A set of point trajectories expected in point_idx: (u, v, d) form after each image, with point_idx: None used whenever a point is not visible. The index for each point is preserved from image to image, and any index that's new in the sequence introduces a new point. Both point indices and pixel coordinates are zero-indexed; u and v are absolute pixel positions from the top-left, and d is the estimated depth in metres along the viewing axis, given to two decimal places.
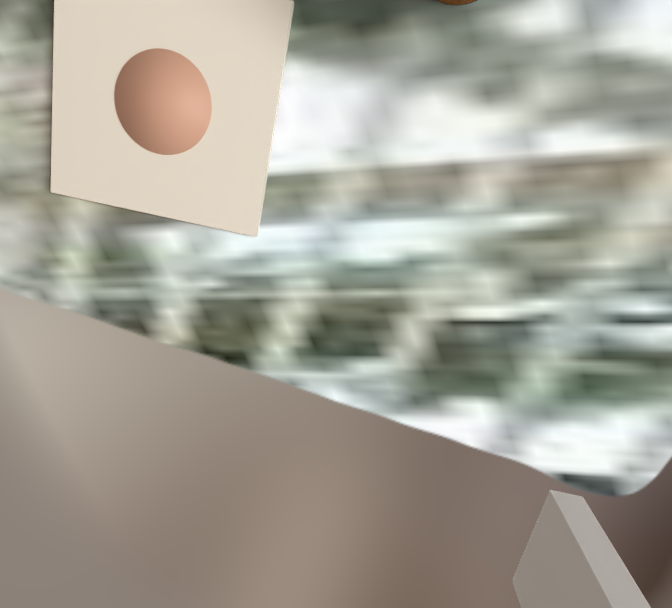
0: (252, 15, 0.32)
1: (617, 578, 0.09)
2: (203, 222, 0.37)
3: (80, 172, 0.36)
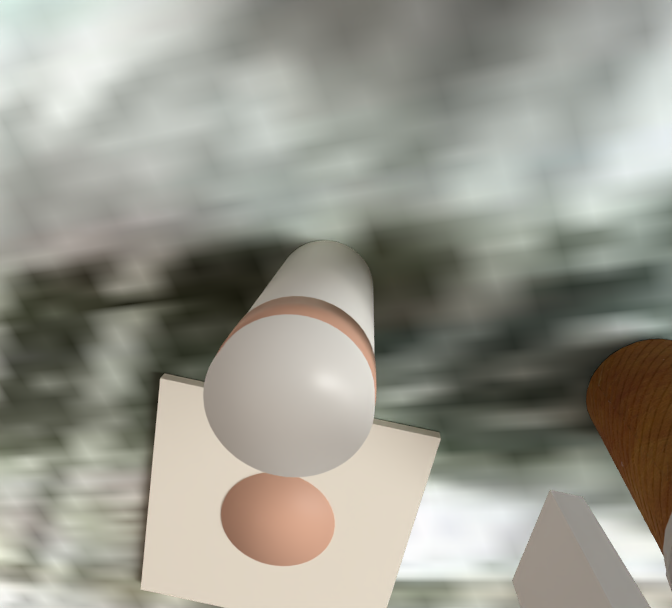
0: (390, 449, 0.27)
1: (617, 578, 0.09)
2: None
3: (176, 574, 0.32)
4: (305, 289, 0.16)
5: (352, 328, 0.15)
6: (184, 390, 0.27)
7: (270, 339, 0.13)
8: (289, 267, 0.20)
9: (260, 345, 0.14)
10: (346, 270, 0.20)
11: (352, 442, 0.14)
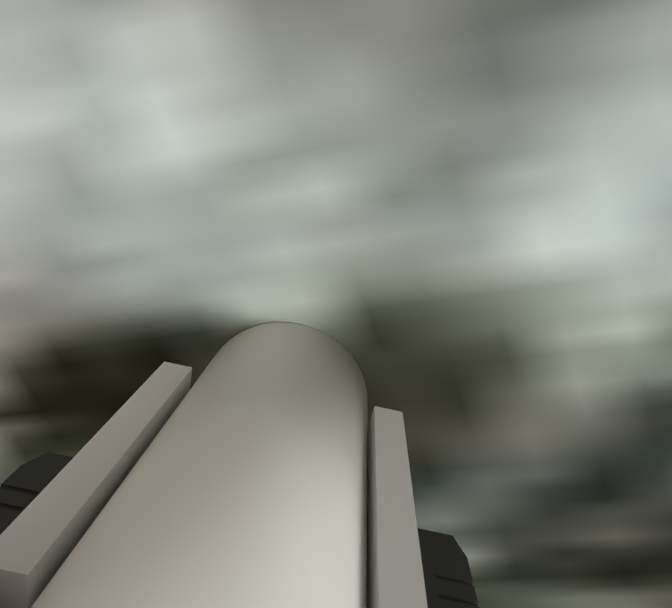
0: None
1: (394, 462, 0.11)
2: None
3: None
4: (170, 575, 0.06)
5: None
6: None
7: None
8: (189, 415, 0.10)
9: None
10: (310, 420, 0.10)
11: None
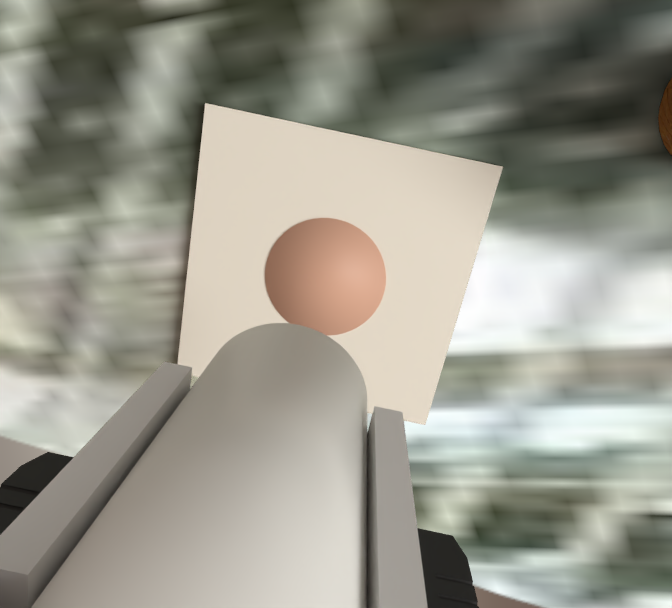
0: (448, 182, 0.26)
1: (394, 461, 0.11)
2: None
3: (215, 352, 0.30)
4: (168, 578, 0.06)
5: None
6: (230, 117, 0.26)
7: None
8: (188, 417, 0.10)
9: None
10: (309, 421, 0.10)
11: None
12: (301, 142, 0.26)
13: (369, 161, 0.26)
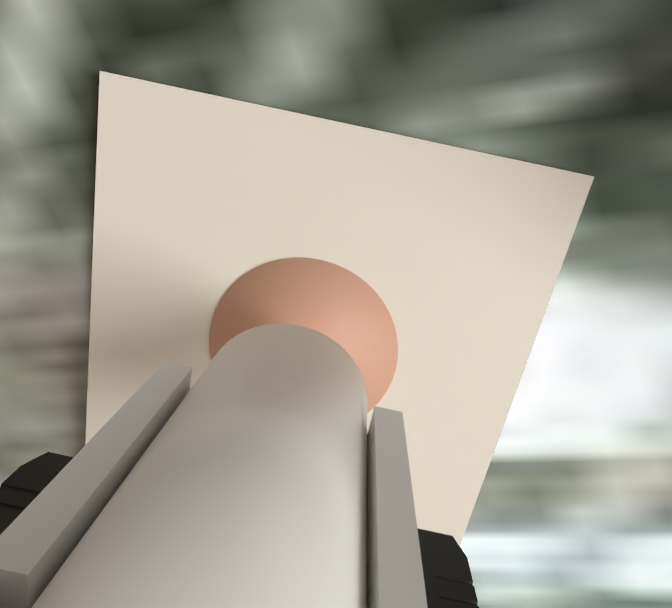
0: (502, 202, 0.16)
1: (394, 461, 0.11)
2: None
3: None
4: (168, 579, 0.06)
5: None
6: (142, 95, 0.15)
7: None
8: (188, 417, 0.10)
9: None
10: (309, 422, 0.10)
11: None
12: (260, 136, 0.16)
13: (372, 168, 0.16)
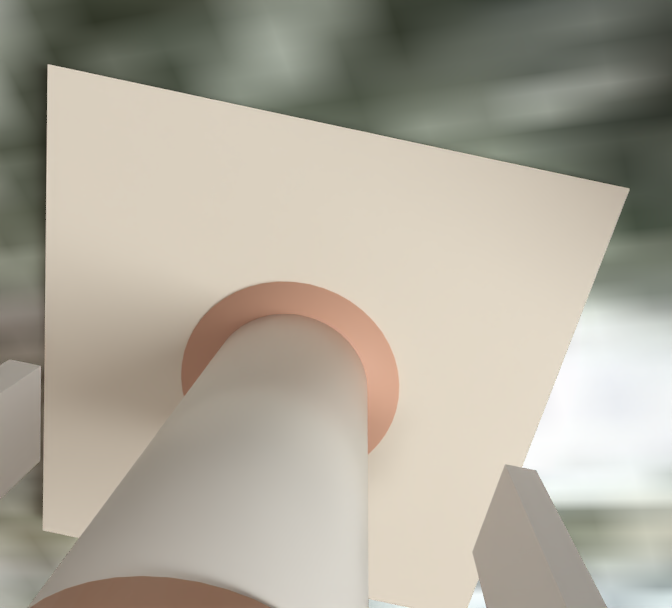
0: (521, 218, 0.13)
1: (558, 541, 0.09)
2: None
3: (104, 501, 0.17)
4: (193, 523, 0.06)
5: None
6: (98, 92, 0.13)
7: None
8: (201, 395, 0.10)
9: None
10: (314, 399, 0.10)
11: None
12: (237, 141, 0.13)
13: (368, 178, 0.13)
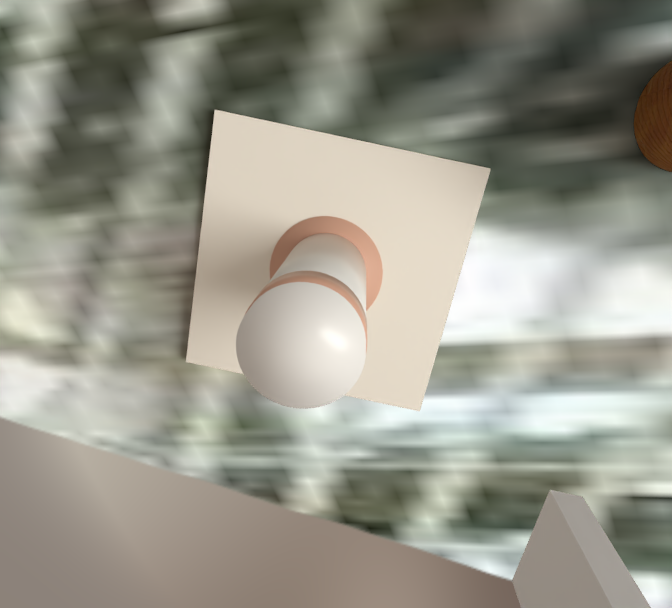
0: (440, 183, 0.28)
1: (617, 578, 0.09)
2: (359, 395, 0.32)
3: (222, 342, 0.32)
4: (312, 266, 0.21)
5: (348, 294, 0.19)
6: (238, 123, 0.28)
7: (287, 299, 0.18)
8: (297, 253, 0.25)
9: (280, 304, 0.18)
10: (343, 255, 0.25)
11: (349, 379, 0.19)
12: (304, 146, 0.28)
13: (366, 164, 0.28)
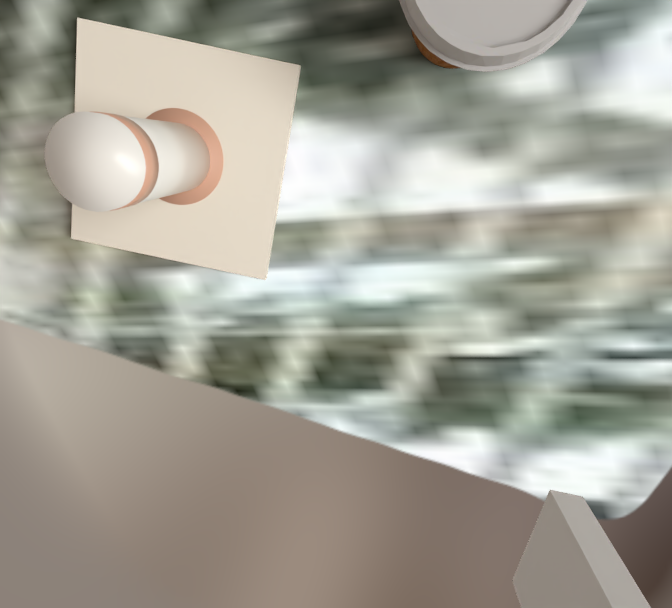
0: (261, 78, 0.35)
1: (617, 578, 0.09)
2: (215, 266, 0.39)
3: (99, 220, 0.39)
4: None
5: (134, 127, 0.26)
6: (96, 28, 0.34)
7: (77, 121, 0.25)
8: None
9: (72, 125, 0.25)
10: (167, 125, 0.31)
11: (129, 186, 0.25)
12: (150, 47, 0.34)
13: (201, 62, 0.35)
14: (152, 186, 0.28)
